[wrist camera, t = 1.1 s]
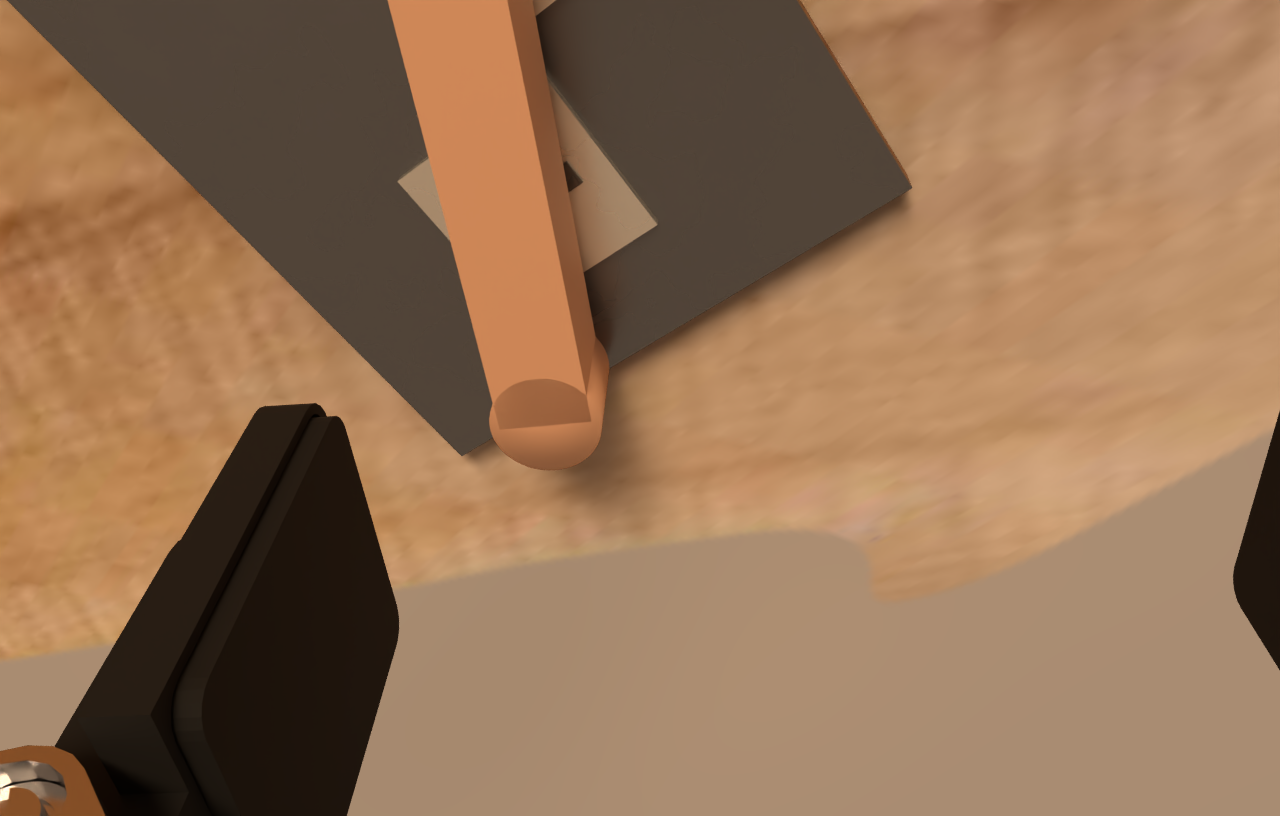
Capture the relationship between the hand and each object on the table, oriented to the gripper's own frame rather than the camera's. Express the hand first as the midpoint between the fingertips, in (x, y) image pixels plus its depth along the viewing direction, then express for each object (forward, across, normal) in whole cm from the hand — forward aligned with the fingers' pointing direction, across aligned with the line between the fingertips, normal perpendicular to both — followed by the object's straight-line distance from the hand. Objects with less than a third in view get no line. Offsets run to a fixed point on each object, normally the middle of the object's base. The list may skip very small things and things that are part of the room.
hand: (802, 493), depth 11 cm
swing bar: (+18, +6, +1) cm, 19 cm away
